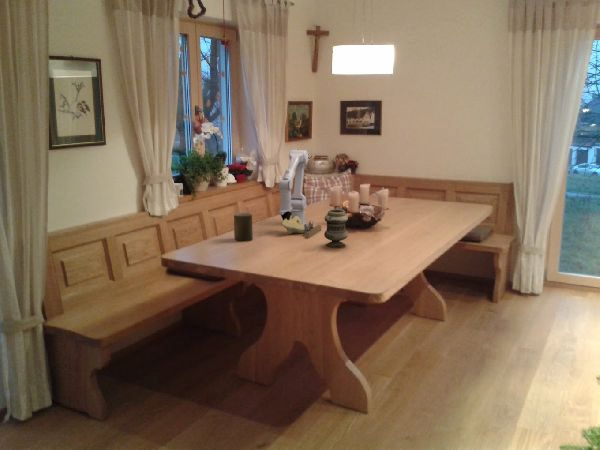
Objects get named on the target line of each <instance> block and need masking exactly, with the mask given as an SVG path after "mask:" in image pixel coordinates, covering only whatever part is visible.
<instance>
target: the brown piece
mask: <svg viewBox="0 0 600 450" xmlns="http://www.w3.org/2000/svg"><path fill="white" fill-rule="evenodd" d="M321 231H322V225H320V224H317V225H316V226H314V221H311V220H310V221H308V223H307V224H304V233H303V234H304V235H303V236H304V238H305V239H311V237H313V236H315V235H316V234H318V233H320V232H321Z"/></svg>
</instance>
